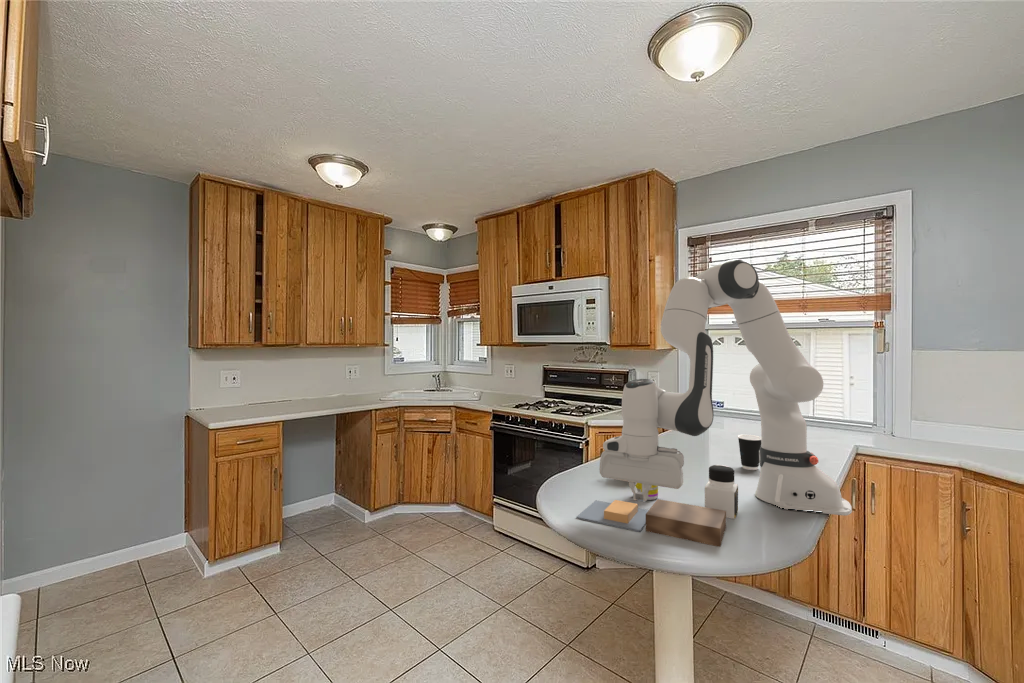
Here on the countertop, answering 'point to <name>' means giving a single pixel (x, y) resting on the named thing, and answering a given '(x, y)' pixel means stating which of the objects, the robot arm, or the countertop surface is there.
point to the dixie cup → (749, 451)
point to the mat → (597, 515)
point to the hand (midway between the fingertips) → (640, 500)
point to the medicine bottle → (722, 490)
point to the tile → (621, 511)
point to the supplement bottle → (651, 493)
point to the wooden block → (687, 522)
